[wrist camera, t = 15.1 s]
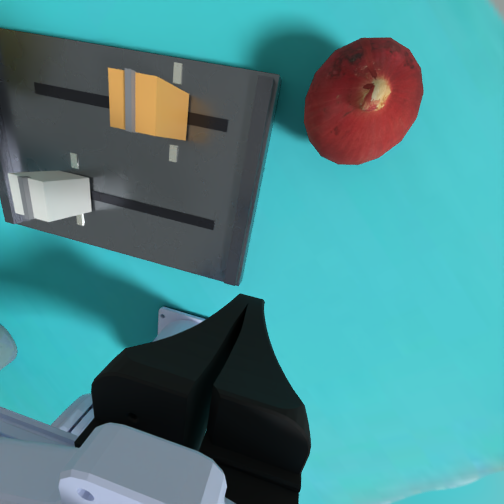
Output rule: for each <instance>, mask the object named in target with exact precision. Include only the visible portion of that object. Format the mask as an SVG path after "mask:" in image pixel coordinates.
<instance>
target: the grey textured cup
mask: <svg viewBox="0 0 504 504" xmlns="http://www.w3.org/2000/svg"><path fill="white" fill-rule="evenodd" d="M16 355H17V347H16V344H15V342H14V340H13V338H12V337H11V335H10V334H9V332H8V331H7V330H6V329H5V328H4V327H3V326H2V325H1V324H0V370H1V369H2V368H4V367H5V366H6V365H8V364H9V363H10V362H12V361H13V360H14V359H15V358H16Z"/></svg>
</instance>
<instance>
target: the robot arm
mask: <svg viewBox="0 0 504 504" xmlns="http://www.w3.org/2000/svg"><path fill="white" fill-rule="evenodd" d="M264 303H265V302H264V300H263V299H259V298H255V297H251V296H248V295H244V294H239V295H237V296H236V297H235V298H234V299H233V300H232V301H231V302H229V303H228V304H227V305H226V306H224V307H223V308H222V309H220V310H219V311H218V312H216V313H215V314H213V315H212V316H210V317H209V318H207V319H203V318H200V317H197V316H193V315H190V314H187V313H184V312H180V311H177V310H174V309H170V308H167V307H161V308H160V309H159V317H158V336H157V337H156V338H155V339H154V340H153V342H150V343H146V344H142V345H138V346H133V347H129V348H125V349H124V350H123V351H122V352H121V353H120V354H119V355H117V356H116V357H115V358H114V359H113V360H112V361H111V362H110V363H109V364H108V365H107V366H106V367H105V368H104V370H103V371H102V372H101V373H100V374H99V375H98V376H97V377H96V378H95V379H94V381H93V383H92V388H91V394H90V393H89V394H85V395H82V396H80V397H79V398H78V399H77V400H76V401H74V402H73V403H72V404H71V405H70V406H69V407H68V408H67V409H66V410H65V411H64V412H63V413H62V414H61V415H60V416H59V417H58V418H57V419H56V420H55V421H54V422H53V423H52V424H51V426H50V425H48V424H45V423H42V422H40V421H37V420H34V419H32V418H29V417H26V416H24V415H21V414H18V413H16V412H13V411H10V410H8V409H5V408H2V407H0V504H298V498H299V492H300V489H301V472H302V470H303V468H304V466H305V463H306V461H307V459H308V456H309V454H310V449H311V439H310V430H309V424H308V418H307V414H306V409H305V405H304V404H303V402H302V401H301V400H300V398H299V397H298V395H297V394H296V393H295V391H294V390H293V388H292V387H291V385H290V383H289V382H288V380H287V378H286V376H285V375H284V373H283V371H282V369H281V367H280V365H279V363H278V361H277V358H276V356H275V354H274V351H273V348H272V346H271V343H270V339H269V336H268V332H267V328H266V323H265V316H264ZM163 315H164V316H163ZM205 432H206V433H205Z"/></svg>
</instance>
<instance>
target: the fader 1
mask: <svg viewBox="0 0 504 504" xmlns="http://www.w3.org/2000/svg"><path fill="white" fill-rule="evenodd" d="M8 178H9V183H10V188H11V193H12V198H13V203H14V208H15V213H17V214H21V215H24V216H25V219H29V220H31V219H35V218H36V219H39V220H43V221H47V222H51V221H55V220H60V219H64V218H68V217H72V216H76V215H80V214H84V213H88V212H92V209H91V196H90V182H89V178H88V177H84V176H80V175H76V174H72V173H67V172H63V171H59V170H58V171H37V172H17V173H8Z"/></svg>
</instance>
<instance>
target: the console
mask: <svg viewBox="0 0 504 504" xmlns="http://www.w3.org/2000/svg"><path fill="white" fill-rule="evenodd" d="M108 68H113V69H119V70H125V68H127V69H132V70H134V71H136V72H138V73H141V74H147V75H153V76H157V77H159V78H161V79H163V80H165V81H166V82H168V83H170V84H172V85H174V86H176V87H177V88H179V89H181V90H183V91H185V92H186V93H188V94H189V104H188V118H187V131H186V141H185V140H178V139H172V138H165V137H158V136H153V135H148V134H143V133H134V132H128V131H125V130H124V129H119V128H115V127H110V107H109V80H108ZM281 81H282V80H281V77H280V75H278V74H272V73H266V72H260V71H254V70H248V69H242V68H236V67H230V66H224V65H218V64H212V63H206V62H200V61H194V60H188V59H182V58H176V57H170V56H164V55H158V54H152V53H146V52H140V51H134V50H128V49H122V48H116V47H110V46H104V45H98V44H92V43H86V42H80V41H74V40H68V39H62V38H56V37H50V36H44V35H38V34H32V33H26V32H20V31H14V30H8V29H2V28H0V199H1V204H2V208H3V213H4V217H5V222H9V223H12V224H19V225H22V226H26V227H30V228H33V229H37V230H40V231H44V232H47V233H51V234H55V235H58V236H62V237H65V238H69V239H72V240H76V241H80V242H83V243H87V244H90V245H94V246H97V247H101V248H105V249H108V250H112V251H115V252H119V253H122V254H126V255H130V256H133V257H137V258H140V259H144V260H147V261H151V262H155V263H158V264H162V265H165V266H169V267H172V268H176V269H180V270H183V271H187V272H190V273H194V274H197V275H201V276H205V277H208V278H212V279H215V280H219V281H223V282H224V283H226V284H230V285H233V286H235V285H237V286H239V284H240V283H241V281H242V277H243V272H244V267H245V262H246V257H247V252H248V247H249V242H250V237H251V232H252V227H253V222H254V217H255V212H256V207H257V202H258V196H259V191H260V186H261V181H262V176H263V171H264V166H265V161H266V156H267V151H268V146H269V141H270V136H271V131H272V126H273V121H274V116H275V111H276V106H277V101H278V96H279V91H280V86H281ZM58 170H59V171H63V172H67V173H72V174H76V175H80V176H84V177H88V178H89V182H90V196H91V209H92V212H88V213H84V214H80V215H76V216H72V217H68V218H64V219H60V220H55V221H51V222H47V221H43V220H39V219H36V218H35V219H31V220H29V219H25V216H24V215H21V214H17V213H15V208H14V203H13V198H12V193H11V188H10V183H9V178H8V173H17V172H37V171H58Z"/></svg>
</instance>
